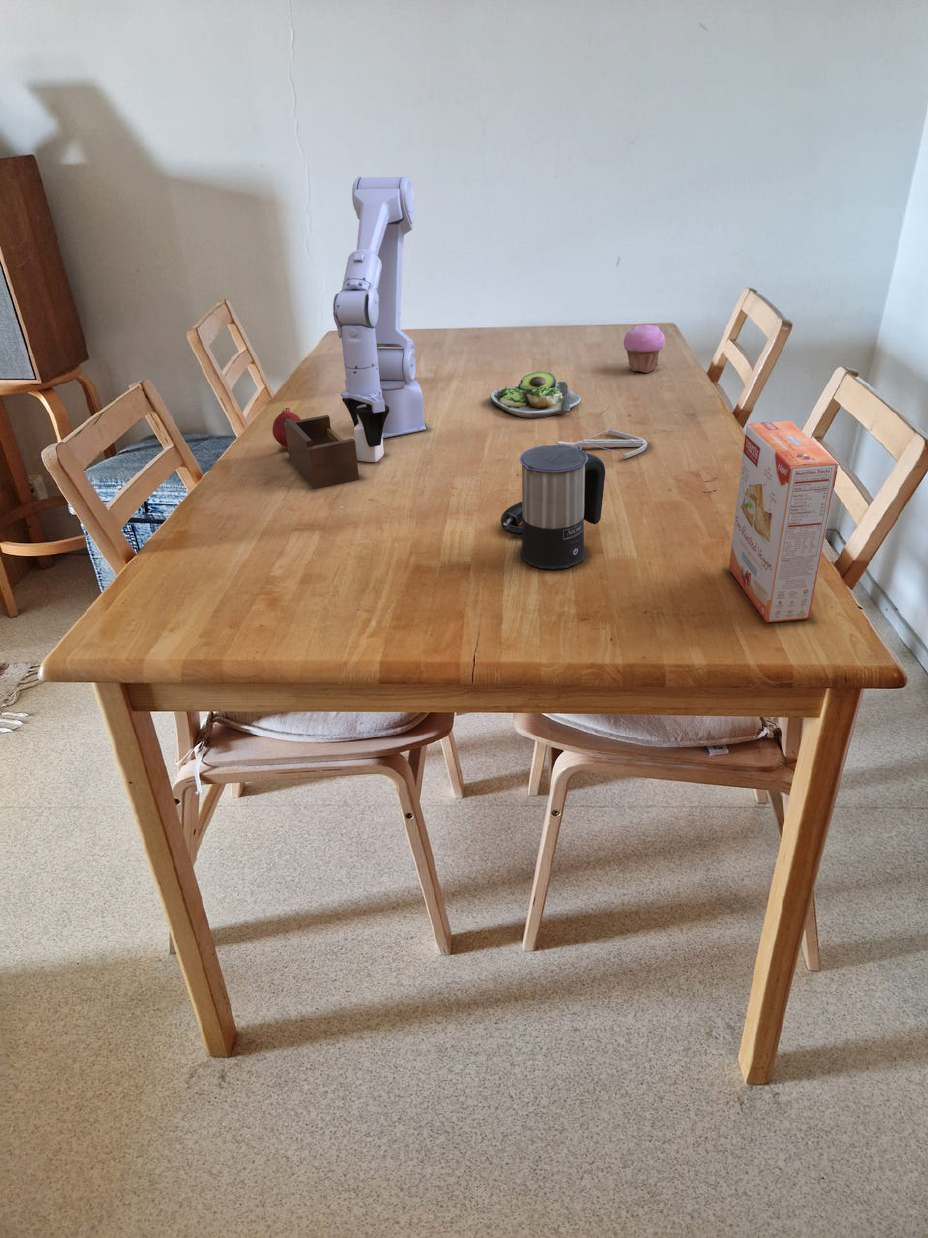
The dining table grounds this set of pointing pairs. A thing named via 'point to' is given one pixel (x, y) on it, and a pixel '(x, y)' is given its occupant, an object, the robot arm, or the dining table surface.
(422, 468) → the dining table surface
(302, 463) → the box
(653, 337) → the cupcake
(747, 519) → the cracker box
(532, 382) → the salad plate
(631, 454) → the crossbow
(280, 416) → the onion
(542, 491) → the milk frother
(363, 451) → the pepper shaker
